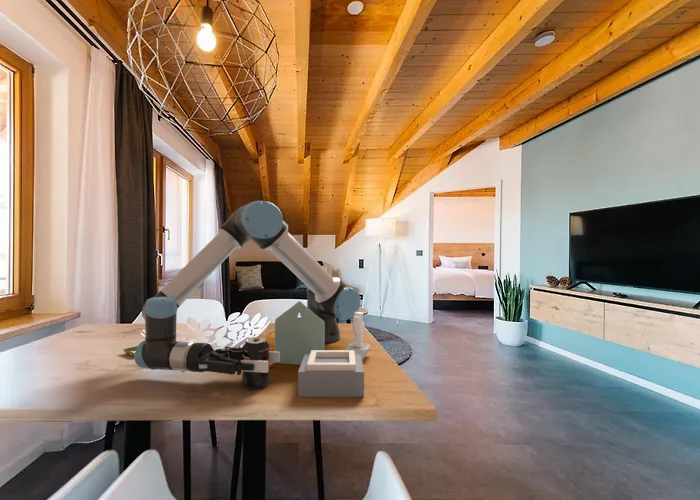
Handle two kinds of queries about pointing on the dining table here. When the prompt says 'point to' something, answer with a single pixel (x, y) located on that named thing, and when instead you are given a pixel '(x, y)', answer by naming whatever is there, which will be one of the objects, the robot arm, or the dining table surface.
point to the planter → (298, 334)
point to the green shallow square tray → (128, 350)
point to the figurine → (358, 336)
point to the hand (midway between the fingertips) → (273, 361)
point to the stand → (331, 374)
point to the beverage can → (255, 351)
